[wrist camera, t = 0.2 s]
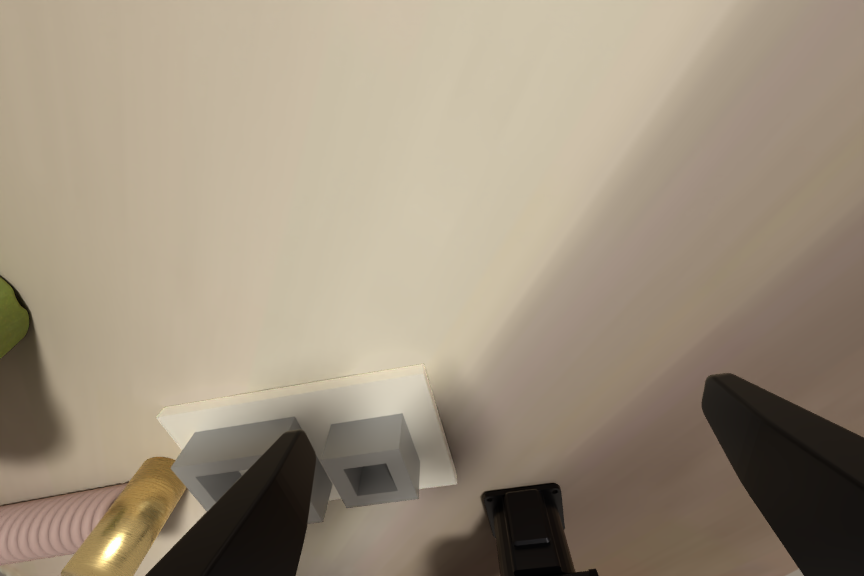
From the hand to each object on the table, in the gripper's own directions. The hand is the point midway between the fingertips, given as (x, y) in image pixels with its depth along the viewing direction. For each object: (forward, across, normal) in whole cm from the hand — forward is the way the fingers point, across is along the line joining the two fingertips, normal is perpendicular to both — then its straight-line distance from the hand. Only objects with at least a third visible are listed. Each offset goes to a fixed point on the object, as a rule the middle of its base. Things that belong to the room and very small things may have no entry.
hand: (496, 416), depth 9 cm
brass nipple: (+15, +28, +18) cm, 36 cm away
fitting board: (+15, +14, +16) cm, 26 cm away
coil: (+15, +40, +20) cm, 47 cm away
